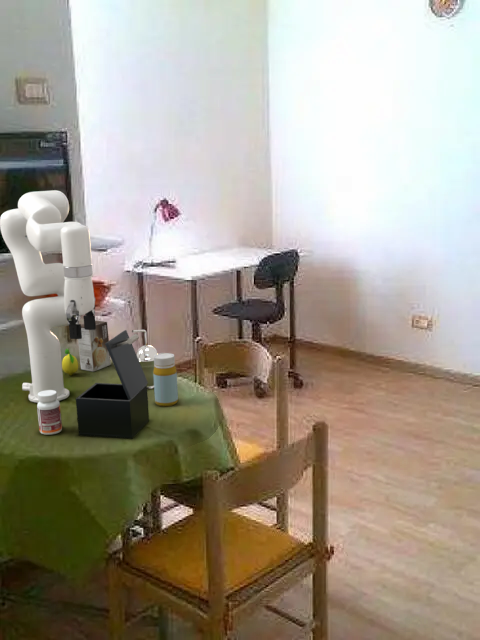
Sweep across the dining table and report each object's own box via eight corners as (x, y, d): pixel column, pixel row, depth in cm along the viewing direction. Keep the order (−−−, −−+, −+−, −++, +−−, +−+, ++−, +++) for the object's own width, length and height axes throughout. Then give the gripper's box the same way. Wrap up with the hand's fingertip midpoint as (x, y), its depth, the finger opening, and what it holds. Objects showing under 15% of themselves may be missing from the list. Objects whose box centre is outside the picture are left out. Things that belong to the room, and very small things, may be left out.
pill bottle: (66, 430, 217) (63, 392, 214) (47, 437, 213) (43, 398, 210) (54, 425, 221) (51, 387, 219) (35, 431, 217) (31, 393, 215)
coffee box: (97, 362, 281) (94, 319, 277) (111, 365, 278) (108, 321, 274) (80, 369, 274) (76, 325, 270) (93, 372, 270) (90, 327, 266)
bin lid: (104, 343, 205) (123, 337, 203) (123, 330, 218) (141, 324, 216) (128, 400, 207) (146, 394, 206) (145, 384, 220) (163, 378, 219)
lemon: (66, 372, 271) (64, 344, 269) (82, 372, 270) (80, 345, 268) (58, 378, 265) (56, 349, 262) (74, 378, 264) (72, 350, 261)
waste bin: (78, 435, 213) (75, 398, 211) (98, 418, 226) (95, 382, 224) (132, 439, 210) (129, 401, 207) (149, 420, 223) (147, 385, 220)
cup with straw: (164, 388, 250) (161, 328, 246) (137, 392, 247) (133, 331, 243) (158, 381, 258) (154, 322, 253) (131, 384, 255) (127, 325, 250)
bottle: (174, 407, 233) (171, 359, 229) (152, 406, 234) (149, 358, 231) (180, 399, 240) (178, 352, 236) (159, 398, 241) (156, 352, 237)
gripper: (78, 266, 216) (82, 326, 220) (51, 277, 200) (56, 342, 204) (103, 266, 215) (107, 326, 219) (78, 278, 198) (83, 342, 202)
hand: (83, 334), depth 211 cm, fingers open, 9 cm apart
